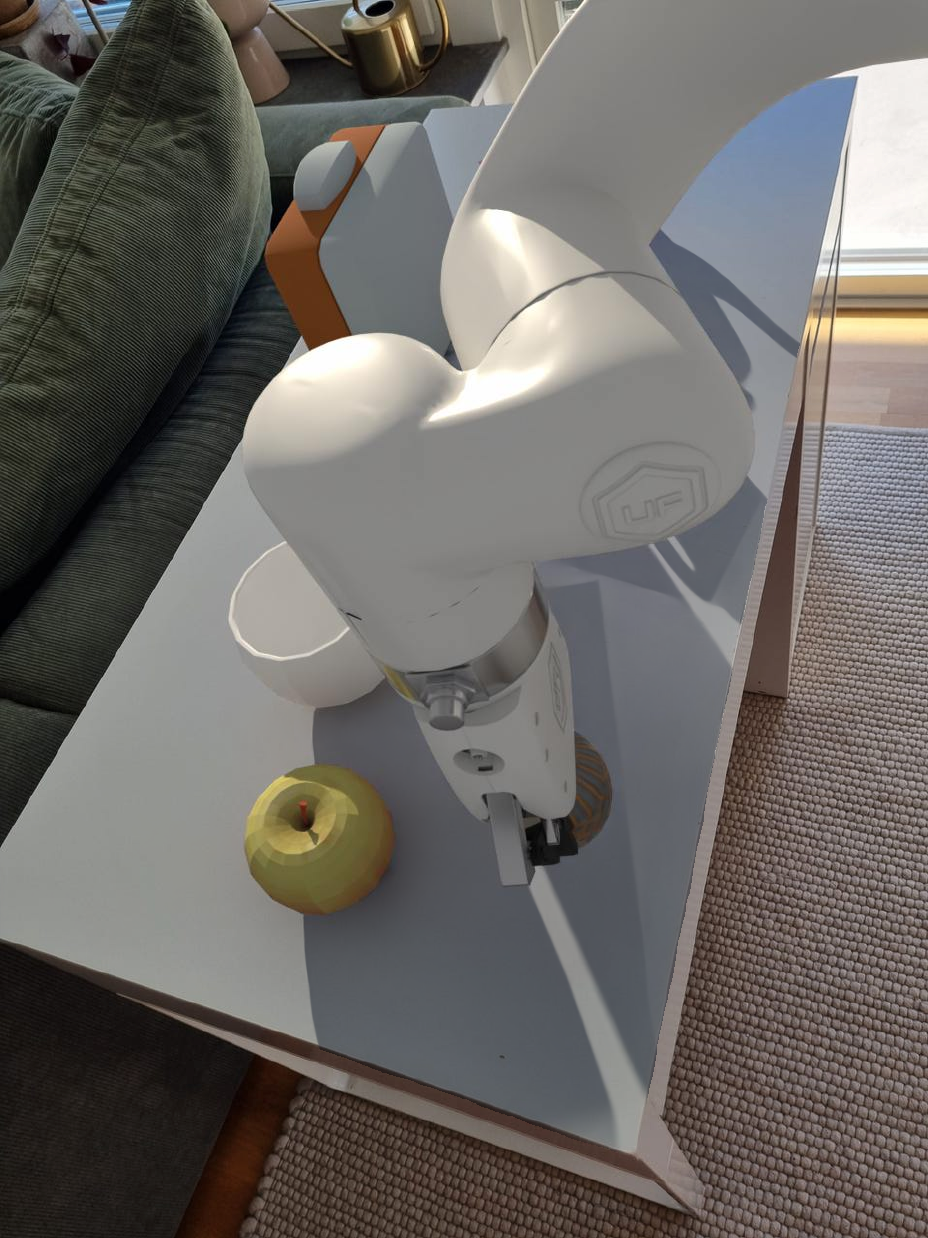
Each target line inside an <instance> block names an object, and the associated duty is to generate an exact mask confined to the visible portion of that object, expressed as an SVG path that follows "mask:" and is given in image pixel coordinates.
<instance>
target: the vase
mask: <svg viewBox="0 0 928 1238" xmlns="http://www.w3.org/2000/svg"><path fill="white" fill-rule="evenodd" d="M574 744H575V769H576V798H575V804H574V806H573V808H572V810H571V812H570V813H569V814H568V815H567V816H566V817H563V818H564V819H565V821H566V823H567V825H568V826H569V828H570V830H571V832H572V834H573V836H574V837H575V839H576V841H577V843H578V850H580V849H582V848H583V847H586V846H587V845H589V844H590V843H591V842H592V841H593V840H594V839H596V838H597V836H599V834H600V833H601V831H602V830H603V829H604V827H605V826H606V823H607V821H608V819H609V817H610V814H611V810H612V806H613V795H614V793H613V792H614V791H613V783H612V777H611V775H610V771H609V768H608V766H607V764H606V762H605V759H604V757H603V755H602V754H601V752H600V751H599V750H598V749H597V748H596V746H595V745H594V744H593V743H592V742H591V741H590V740H589V739H587V738H586V737H585V736H583V735H582V734H581V733H579V732H577V731H576V730H574ZM522 816H523V818H530V817H538V816H536V815H534V814H532V813H530V812H528V811H526V810H525V811H522Z"/></svg>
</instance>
